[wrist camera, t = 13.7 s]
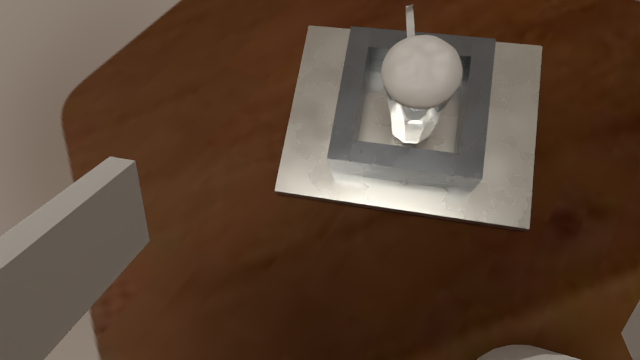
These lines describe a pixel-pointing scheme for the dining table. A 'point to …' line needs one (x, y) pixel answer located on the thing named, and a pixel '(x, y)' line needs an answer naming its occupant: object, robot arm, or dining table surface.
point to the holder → (414, 158)
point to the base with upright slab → (523, 354)
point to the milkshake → (419, 82)
